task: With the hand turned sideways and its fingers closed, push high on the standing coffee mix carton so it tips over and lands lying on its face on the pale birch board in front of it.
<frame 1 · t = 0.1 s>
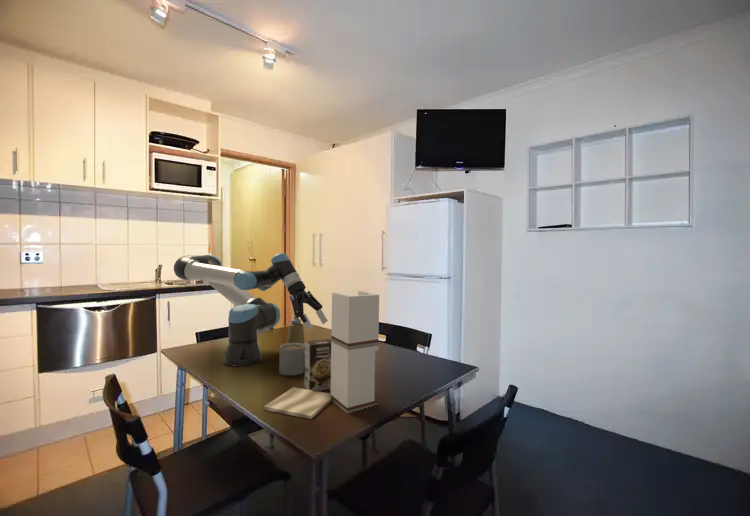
hand: (318, 325, 153), 15 cm above the table, tool tilted 35°, fingers open, 13 cm apart
birch board: (301, 403, 110), on the table
coffee box: (319, 387, 123), on the table
squeeze bottle: (295, 349, 169), on the table
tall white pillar: (353, 404, 111), on the table, touching birch board
coffee mug: (295, 372, 138), on the table
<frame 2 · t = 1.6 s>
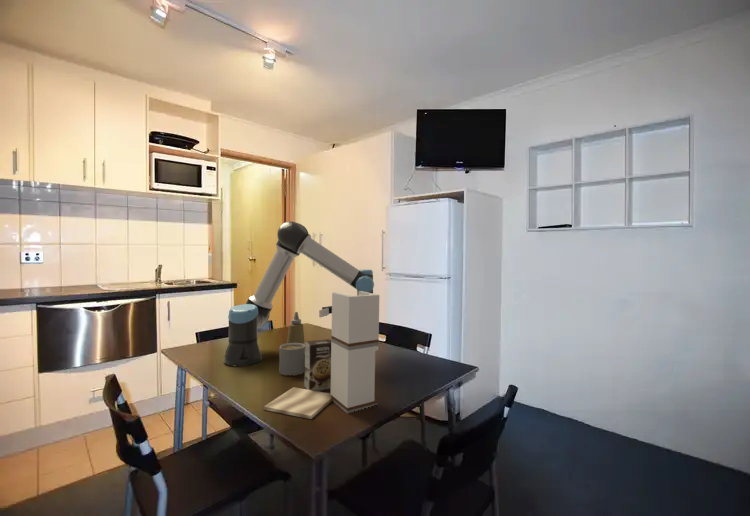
hand: (335, 314, 135), 23 cm above the table, tool horizontal, fingers open, 13 cm apart
nothing on the table moved.
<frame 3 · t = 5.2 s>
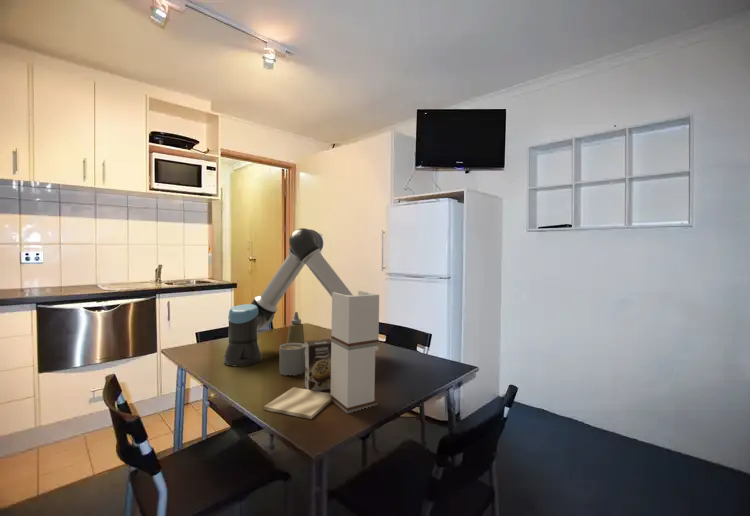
hand: (329, 352, 127), 11 cm above the table, tool horizontal, fingers closed
coffee box: (319, 387, 122), on the table, touching birch board, gripper
everything else where it was.
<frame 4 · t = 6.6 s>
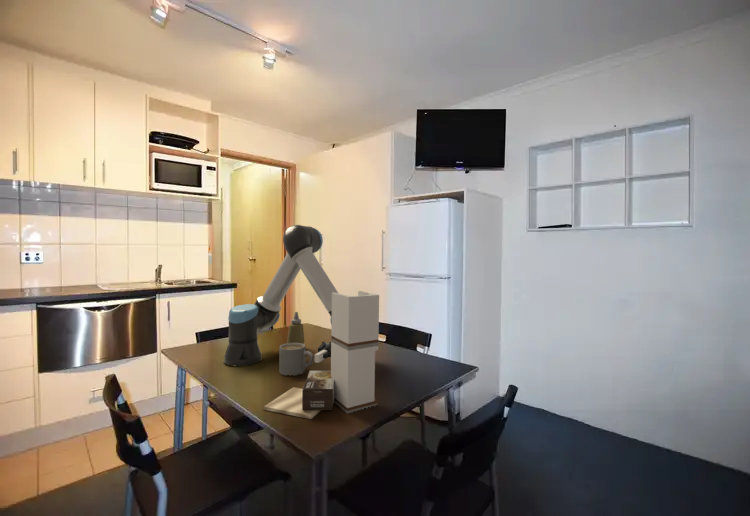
hand: (316, 358, 120), 11 cm above the table, tool horizontal, fingers closed
coffee box: (323, 379, 119), point 4 cm above the table, touching birch board
everything else where it was.
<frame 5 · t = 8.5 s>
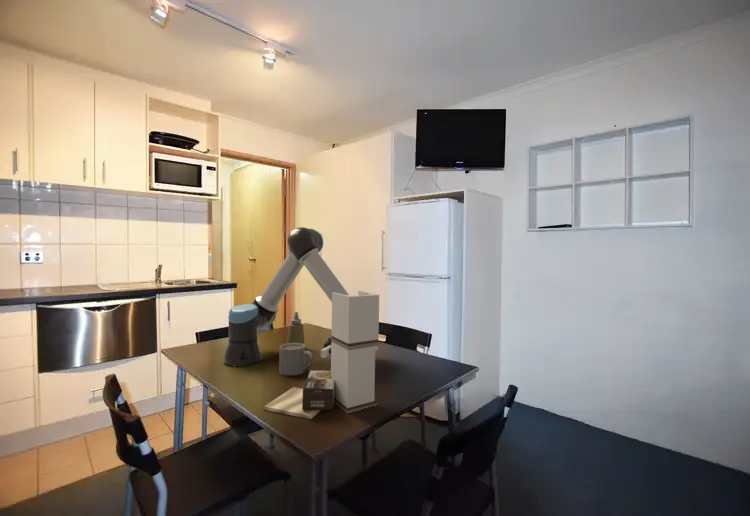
hand: (322, 353, 125), 11 cm above the table, tool horizontal, fingers closed
nothing on the table moved.
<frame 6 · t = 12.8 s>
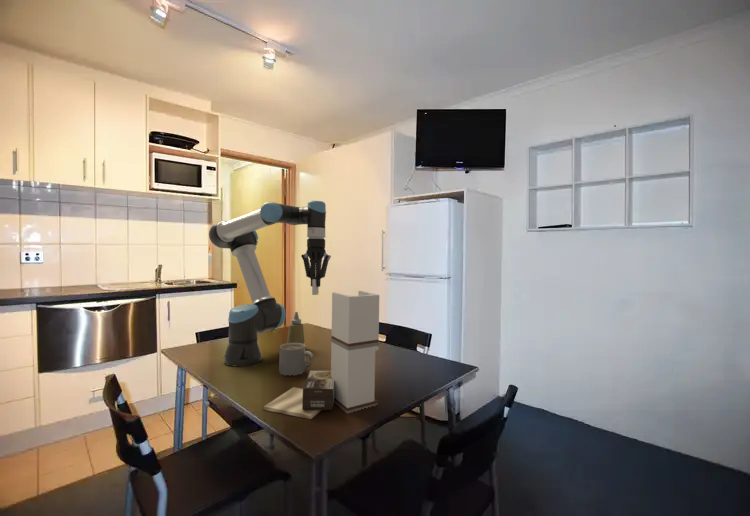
hand: (315, 294, 147), 29 cm above the table, tool pointing down, fingers closed
nothing on the table moved.
at the end: coffee box tilted 90°; coffee box touching birch board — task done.
